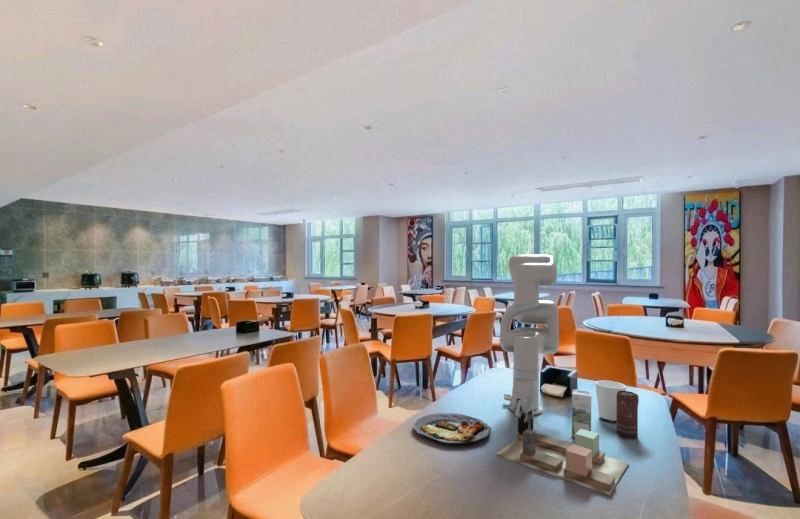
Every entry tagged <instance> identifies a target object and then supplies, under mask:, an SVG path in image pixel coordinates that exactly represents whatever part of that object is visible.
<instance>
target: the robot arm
mask: <svg viewBox="0 0 800 519" xmlns="http://www.w3.org/2000/svg"><path fill="white" fill-rule="evenodd" d="M555 259H556V258H555V257H554V256H553V255H551V254H526V253H525V254H516V255H515V254H514V255H512V256H511V257H509V260H508V271H509V274H510V278H511V280H512V282H513V285H514V290H513V292H514V295H513V303H512V304H511V305H510V306H509V307H507V309H506V310H505V312H504V313H503V315H502V317H501V321H500V325H499V326H500V328H499V329H500V330H499V345H500V348H501V349H502V350H503V351H504V352H507V353H512V392H511V394H509V393H504V395H503V399H504V400H505V401H509V404H508V409H509V410H511V411H512V412H514V416H515V417H516V419H517V434H518V433H520V434H523V432H524V431H525V430H527V429H528V422H527V413H531V430H533V431H534V417H535V416H536V415H540V414H543V412H544V408H543V406H542V405H540V404H539V401H540V399H539V398H540V397H539V395H540V394H539V392H540V391H539V390H540V389H539V388H540V382H539V381H540V379H539V378H540V373H539V372H540V366H539V354H542V355H543V354H544V355H547V354H548V355H554V354H556V353H558V351H559V349H560V348H559V346H560V332H559V329H560V327H559V326H560V325H559V321H560V320H559V317H560V316H559V309H558V308H559V307H558V306H557V304H556V303H555V302H554V301H553V300H544V299H542V300H541V299H540V287H553V286H555V284H556V283H557V279H558V269H557V263H556V260H555ZM514 318H515V320H516V321H517V322H518V323H520V324H523V325H538V326H539V325H540V326H545V328H544V327H530V326H529V327H528V326H527V327H526V326H521V327H516V328H514V329H509V325H510V323H511V321H512V320H513V319H514ZM521 413H522V414H524V416H523V415H521Z"/></svg>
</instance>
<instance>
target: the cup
mask: <svg viewBox="0 0 800 519" xmlns="http://www.w3.org/2000/svg"><path fill="white" fill-rule="evenodd" d="M595 388H596V389H595V390H596V391H595V392H596V400H597V401H596V402H597V411H598V412H597V413H598V416H599V418H600V420H602V421H608V422H609V423H611V422H612V423H615V422H616V411H617V393H618V391H627V386H626V385H625V384H624V383H621V382H618V381H614V380H613V381H612V380H605V379H604V380H602V379H601V380H597V381H596V382H595Z"/></svg>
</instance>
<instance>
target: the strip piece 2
mask: <svg viewBox="0 0 800 519" xmlns="http://www.w3.org/2000/svg"><path fill="white" fill-rule="evenodd" d="M564 476H565V477H568V478H571V479H574V480H577V481H580V482H582V483H585V484H588V485H591V486H594V487H597V488H600V489H603V490H605V491H608V492H610V491H611V489H612V488H613V486H614V485H615V476H612V475H609V474H605V473H602V472H599V471H596V470H593V469H592V470H591V471H590V472H589V473H588V475H587V476H583V475H580V474H577V473H574V472H571V471H568V470H566V467H565V468H564Z"/></svg>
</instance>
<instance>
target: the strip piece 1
mask: <svg viewBox="0 0 800 519" xmlns="http://www.w3.org/2000/svg"><path fill="white" fill-rule="evenodd" d="M536 433H537V431H536V430H534V429H533V430H529V429H527V430H525V431H524V432H523V453H521V454H520V460H523V461H526V462H528V463H531V464H534V465H537V466H540V467H543V468H546V469H549V470H551V471H554V472H557V471H558V470H559V469H560V468H561V467H562V466H563V460H562V459H559V458H556V457H553V456H550V455H547V454H544V453H541V452H537V451H535V447H536Z"/></svg>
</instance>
